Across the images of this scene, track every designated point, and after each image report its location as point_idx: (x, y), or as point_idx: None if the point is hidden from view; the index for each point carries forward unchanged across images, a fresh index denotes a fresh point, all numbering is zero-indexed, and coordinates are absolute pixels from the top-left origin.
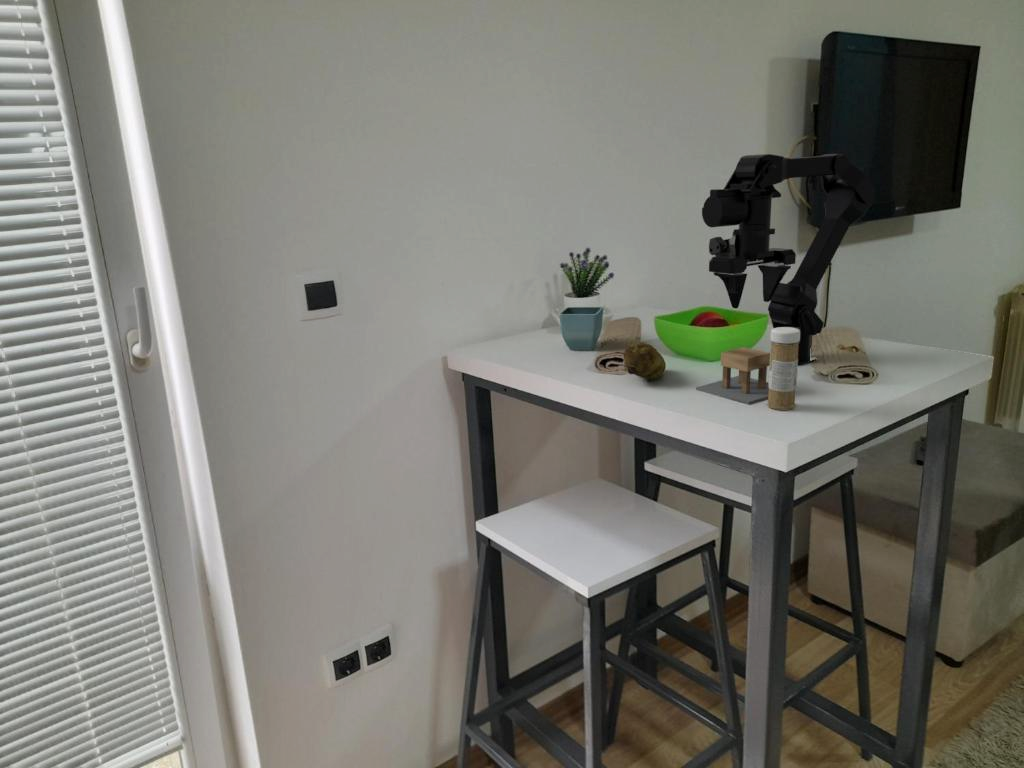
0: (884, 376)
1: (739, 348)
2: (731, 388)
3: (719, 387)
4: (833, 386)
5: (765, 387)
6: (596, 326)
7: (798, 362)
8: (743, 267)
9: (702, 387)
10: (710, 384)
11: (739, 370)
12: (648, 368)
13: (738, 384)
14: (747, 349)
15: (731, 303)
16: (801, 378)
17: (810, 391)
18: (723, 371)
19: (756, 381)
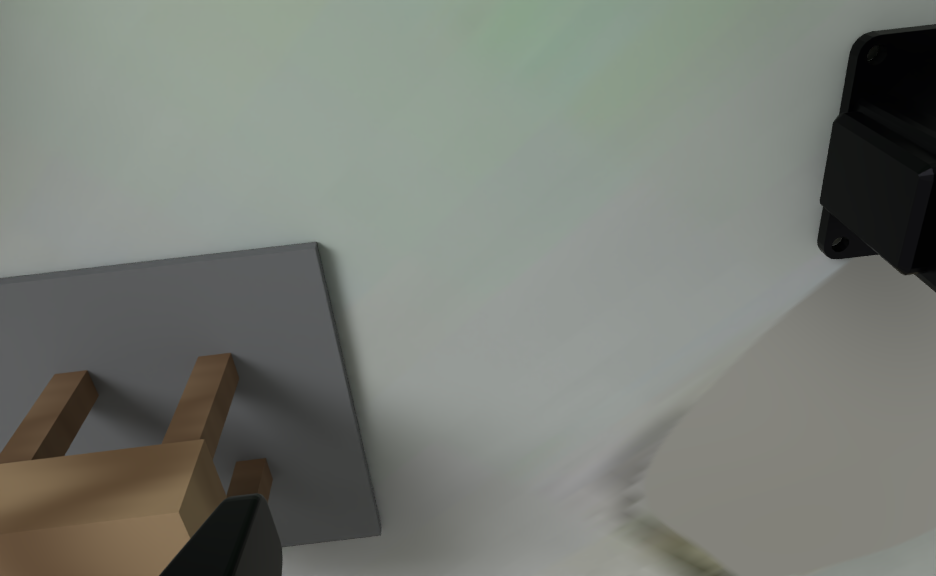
0: (880, 555)
1: (125, 526)
2: (97, 408)
3: (38, 366)
4: (583, 554)
5: (270, 481)
6: None
7: (845, 241)
8: None
9: None
10: (15, 297)
11: (178, 412)
12: None
13: (181, 375)
14: (163, 567)
15: (184, 556)
16: (588, 420)
17: (441, 557)
18: (8, 449)
19: (313, 383)
